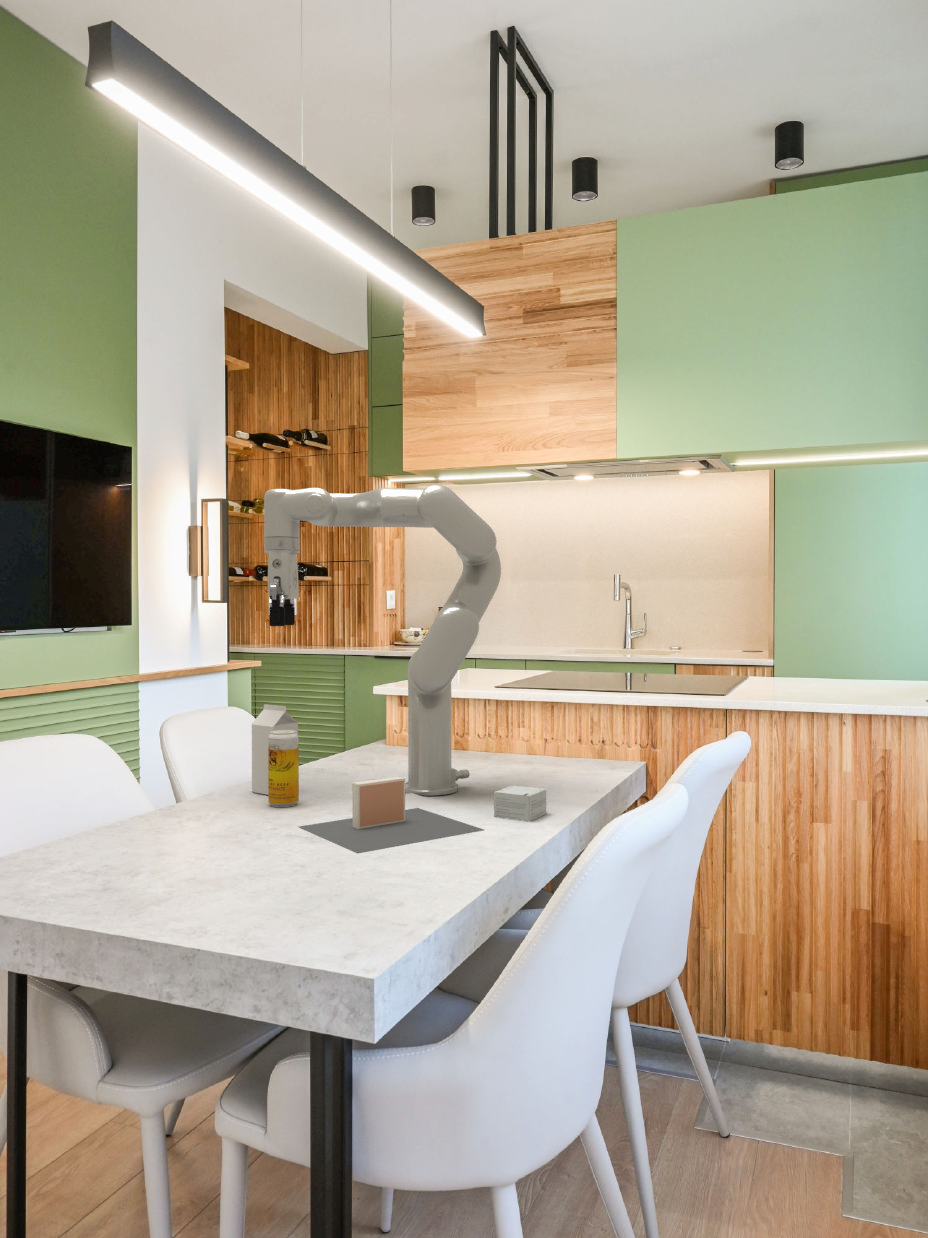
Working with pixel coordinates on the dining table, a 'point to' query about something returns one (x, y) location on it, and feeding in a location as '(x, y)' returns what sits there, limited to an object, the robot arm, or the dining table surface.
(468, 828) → the mat
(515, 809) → the small box
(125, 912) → the dining table surface
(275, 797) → the beer can
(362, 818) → the tile
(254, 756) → the milk carton
